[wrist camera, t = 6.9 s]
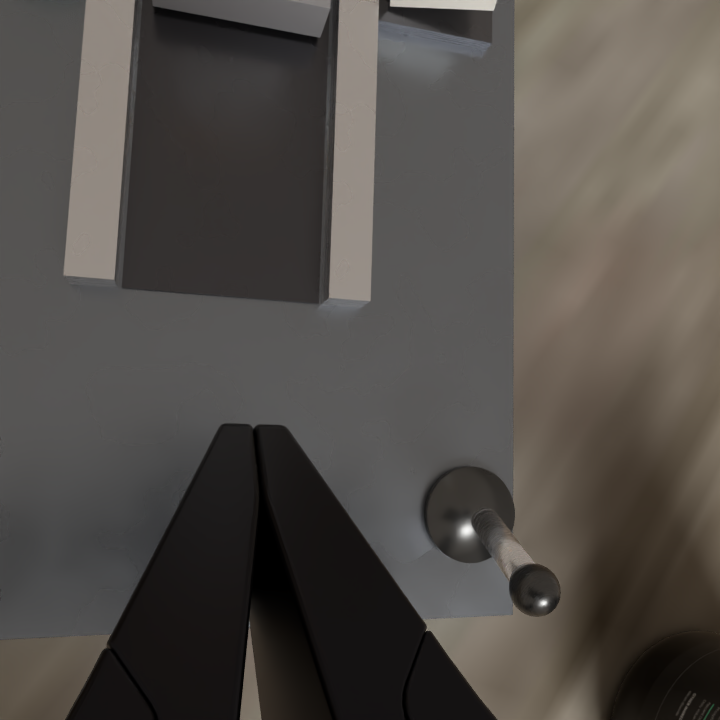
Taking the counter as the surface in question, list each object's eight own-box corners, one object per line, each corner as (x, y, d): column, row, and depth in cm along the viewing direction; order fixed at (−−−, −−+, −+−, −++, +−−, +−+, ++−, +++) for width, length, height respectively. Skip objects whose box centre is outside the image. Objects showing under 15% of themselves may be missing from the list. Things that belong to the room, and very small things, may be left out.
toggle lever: (495, 532, 19) (563, 626, 15) (456, 532, 19) (517, 629, 15) (503, 495, 19) (575, 584, 15) (464, 496, 18) (528, 585, 15)
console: (489, 601, 21) (529, 624, 19) (-163, 629, 16) (-224, 664, 14) (494, -79, 24) (529, -137, 21) (-65, -222, 19) (-101, -316, 17)
